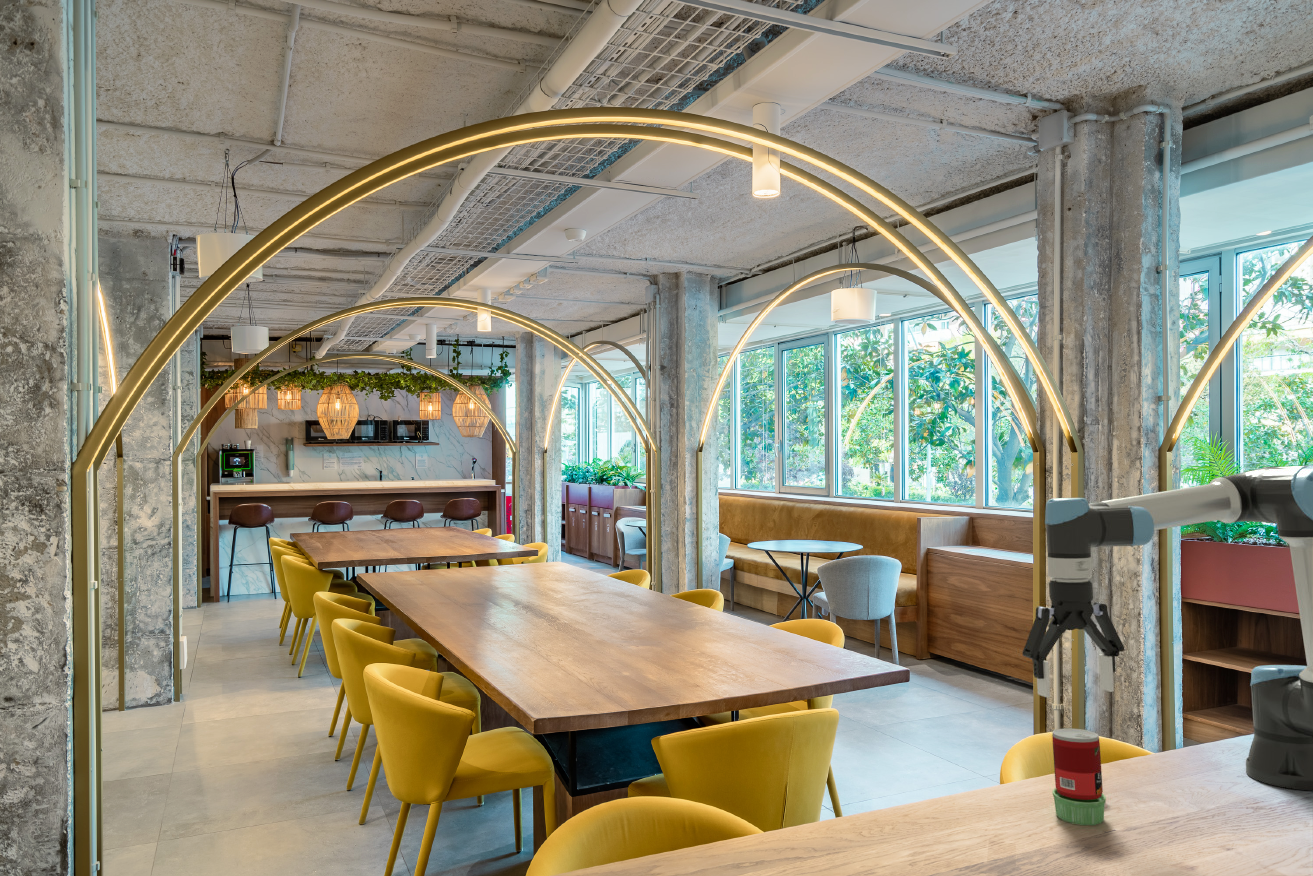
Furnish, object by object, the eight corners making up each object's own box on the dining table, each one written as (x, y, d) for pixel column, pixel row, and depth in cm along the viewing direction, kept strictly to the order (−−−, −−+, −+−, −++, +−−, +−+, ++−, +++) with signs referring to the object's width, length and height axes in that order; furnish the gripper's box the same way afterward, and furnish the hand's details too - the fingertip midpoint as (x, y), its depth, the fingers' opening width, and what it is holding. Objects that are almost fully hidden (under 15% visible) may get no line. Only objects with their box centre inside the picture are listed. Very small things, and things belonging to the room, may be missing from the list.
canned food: (1107, 801, 161) (1103, 739, 161) (1060, 799, 162) (1056, 738, 163) (1097, 788, 168) (1093, 728, 169) (1052, 786, 170) (1048, 727, 171)
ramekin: (1052, 823, 163) (1051, 798, 163) (1054, 806, 171) (1053, 783, 171) (1107, 830, 159) (1106, 805, 159) (1106, 813, 167) (1104, 789, 168)
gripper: (1024, 585, 162) (1029, 703, 161) (1141, 578, 167) (1147, 692, 166) (999, 580, 169) (1004, 693, 168) (1112, 574, 175) (1118, 683, 174)
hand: (1075, 693), depth 167 cm, fingers open, 13 cm apart
